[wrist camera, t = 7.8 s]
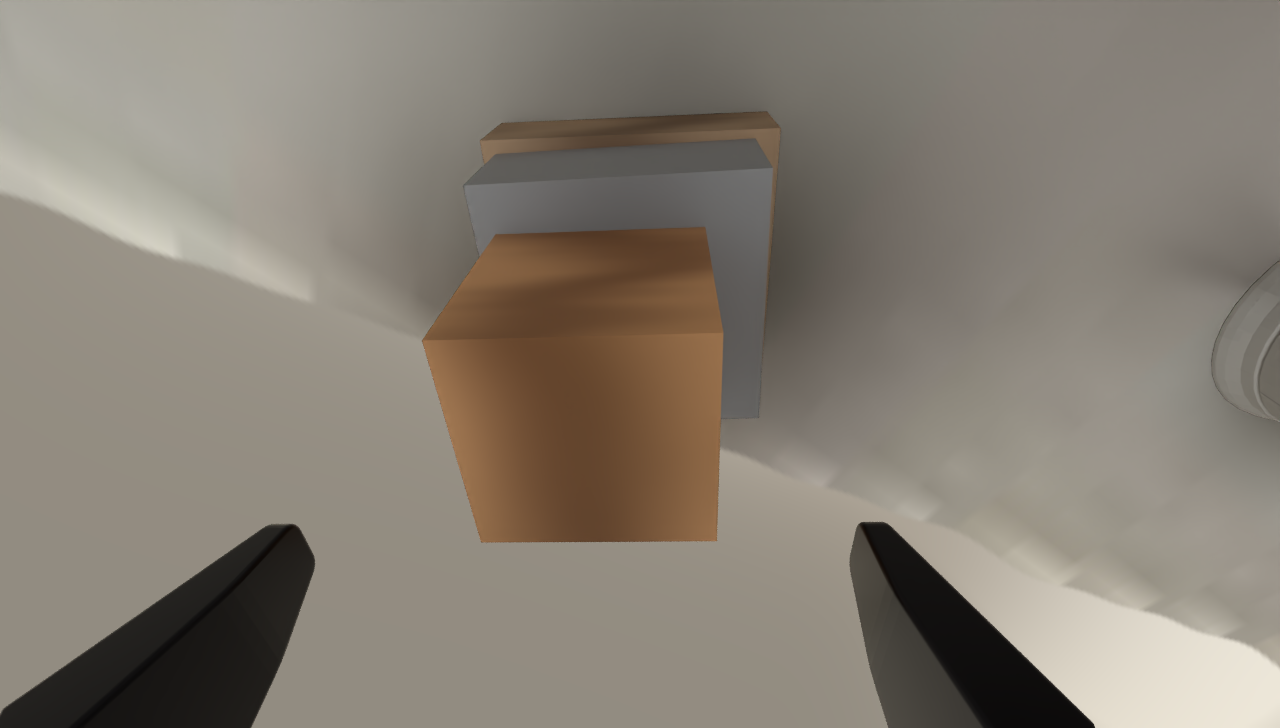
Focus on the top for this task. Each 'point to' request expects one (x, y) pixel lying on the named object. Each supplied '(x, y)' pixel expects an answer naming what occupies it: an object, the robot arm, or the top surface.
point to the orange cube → (585, 386)
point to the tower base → (640, 138)
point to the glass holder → (1252, 350)
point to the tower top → (653, 221)
